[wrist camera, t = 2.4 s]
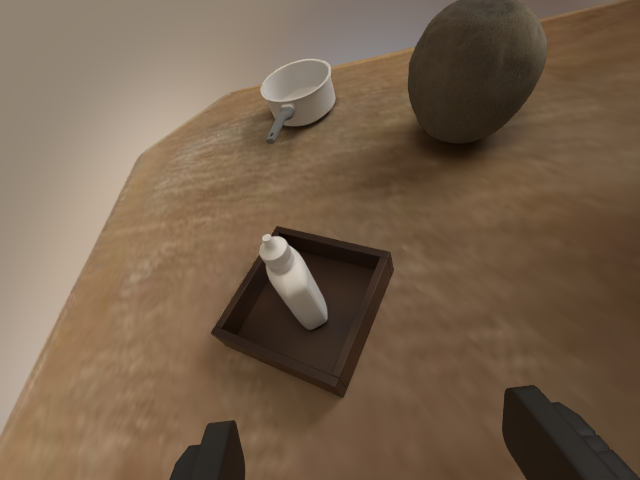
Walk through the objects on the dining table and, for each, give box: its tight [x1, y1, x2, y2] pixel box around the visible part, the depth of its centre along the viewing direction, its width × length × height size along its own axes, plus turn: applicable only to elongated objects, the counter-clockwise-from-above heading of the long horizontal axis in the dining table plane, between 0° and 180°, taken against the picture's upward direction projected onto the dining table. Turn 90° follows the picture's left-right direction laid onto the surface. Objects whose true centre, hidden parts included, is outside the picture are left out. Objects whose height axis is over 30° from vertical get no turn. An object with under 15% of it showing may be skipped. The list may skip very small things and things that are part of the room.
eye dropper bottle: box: [259, 234, 328, 330], centre depth 32 cm, size 4×6×12 cm
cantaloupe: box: [408, 0, 547, 143], centre depth 41 cm, size 14×14×15 cm
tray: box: [211, 226, 394, 397], centre depth 36 cm, size 14×14×3 cm
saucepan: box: [261, 59, 336, 144], centre depth 55 cm, size 12×20×6 cm, turn 168°
